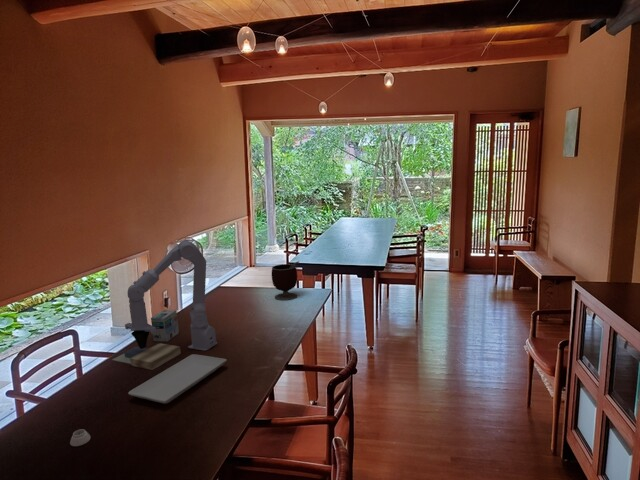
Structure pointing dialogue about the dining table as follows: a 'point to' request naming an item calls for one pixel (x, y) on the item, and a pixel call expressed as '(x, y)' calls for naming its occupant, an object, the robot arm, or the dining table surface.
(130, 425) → the dining table surface
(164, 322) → the light bulb box
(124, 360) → the mat
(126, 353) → the blue-grey flat block
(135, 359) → the deck
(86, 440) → the lidless jar
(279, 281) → the mate gourd
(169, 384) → the tray
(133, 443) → the dining table surface
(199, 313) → the robot arm
